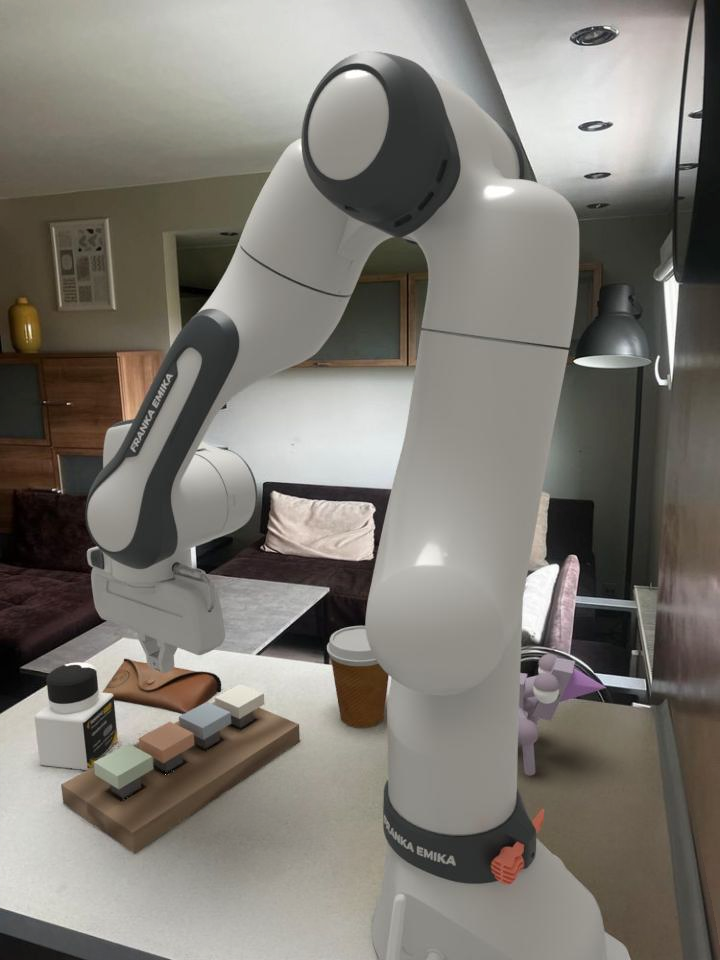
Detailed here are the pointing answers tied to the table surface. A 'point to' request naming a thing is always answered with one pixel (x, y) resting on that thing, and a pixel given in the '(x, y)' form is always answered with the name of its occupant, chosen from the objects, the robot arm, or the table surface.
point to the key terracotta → (167, 745)
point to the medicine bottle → (75, 719)
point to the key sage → (124, 769)
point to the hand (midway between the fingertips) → (161, 668)
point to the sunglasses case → (162, 686)
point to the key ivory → (240, 703)
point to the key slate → (205, 723)
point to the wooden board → (180, 782)
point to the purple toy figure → (547, 699)
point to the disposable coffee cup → (357, 678)
